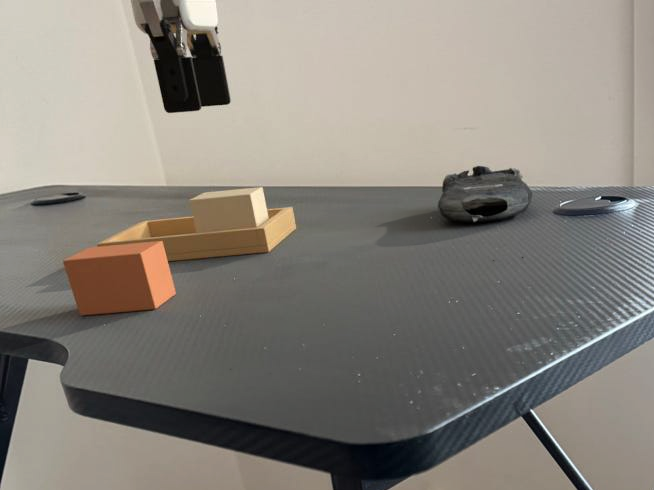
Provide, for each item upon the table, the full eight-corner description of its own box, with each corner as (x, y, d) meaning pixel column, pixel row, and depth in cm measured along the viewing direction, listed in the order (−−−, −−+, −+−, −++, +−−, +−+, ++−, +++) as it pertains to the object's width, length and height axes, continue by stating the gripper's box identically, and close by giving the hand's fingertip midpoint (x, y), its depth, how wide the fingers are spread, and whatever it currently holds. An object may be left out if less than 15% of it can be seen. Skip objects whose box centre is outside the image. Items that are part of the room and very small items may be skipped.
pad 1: (79, 316, 70) (62, 260, 68) (104, 300, 75) (88, 247, 72) (155, 309, 70) (140, 253, 68) (176, 293, 74) (162, 240, 72)
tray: (103, 267, 88) (96, 243, 87) (148, 242, 98) (142, 221, 97) (269, 252, 86) (264, 227, 85) (296, 228, 97) (292, 206, 96)
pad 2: (199, 245, 90) (188, 200, 88) (213, 235, 94) (203, 192, 92) (259, 239, 89) (250, 194, 87) (271, 230, 94) (262, 186, 91)
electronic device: (436, 221, 101) (438, 222, 87) (437, 164, 99) (439, 156, 85) (521, 224, 102) (536, 226, 88) (524, 168, 99) (539, 160, 86)
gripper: (143, -111, 84) (188, 106, 93) (64, -144, 69) (127, 117, 78) (224, -119, 83) (261, 100, 93) (162, -153, 69) (213, 111, 78)
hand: (199, 108), depth 86 cm, fingers open, 9 cm apart
